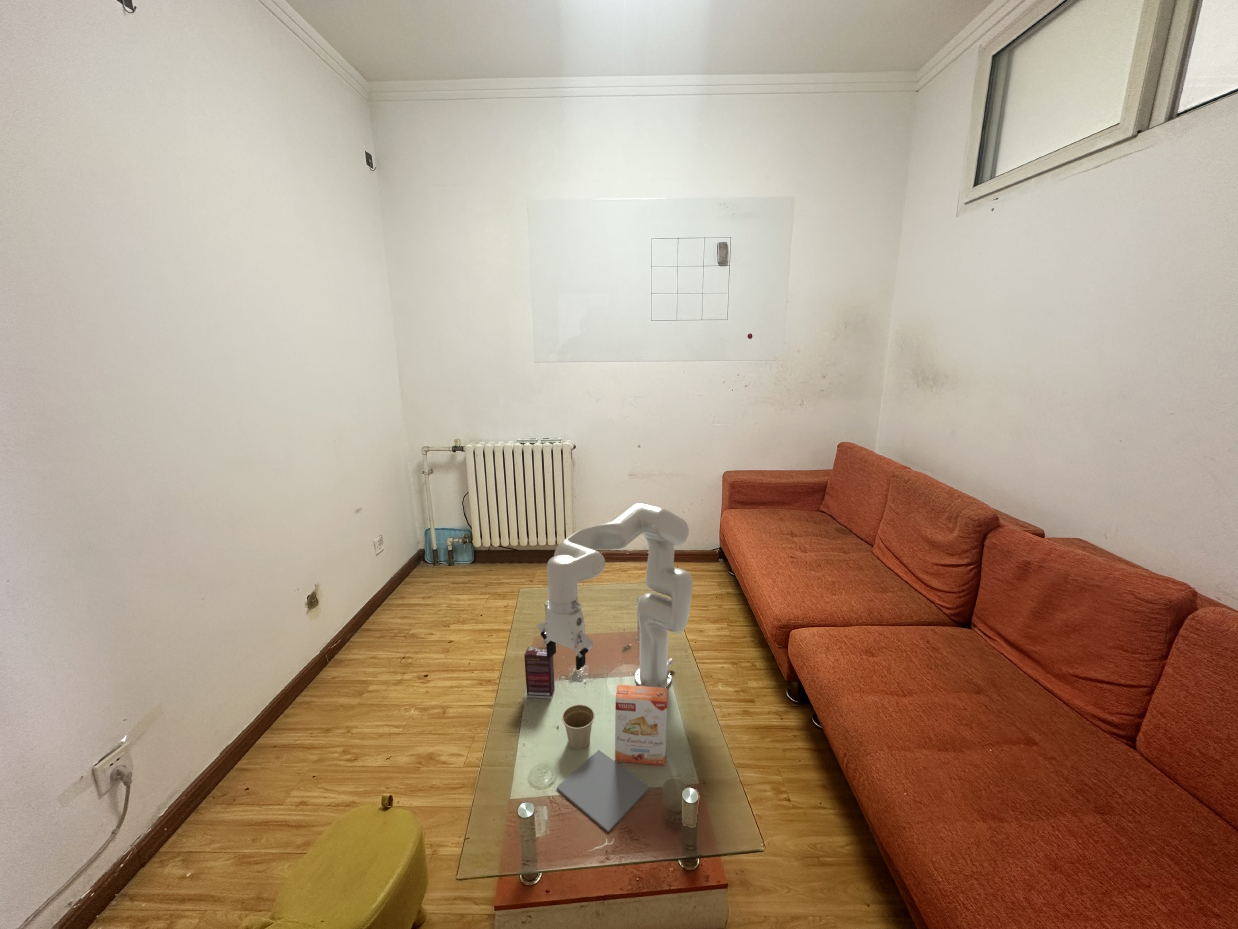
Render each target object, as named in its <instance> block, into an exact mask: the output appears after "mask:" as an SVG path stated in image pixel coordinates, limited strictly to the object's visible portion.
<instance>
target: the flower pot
mask: <svg viewBox="0 0 1238 929" xmlns="http://www.w3.org/2000/svg"><path fill="white" fill-rule="evenodd" d="M561 714H562V715H561V721H562V723H563V725H564V727H565V731H566V736H567V741H568V744H569V746H570V747H571V748H572V749H576V750H580V749H584V748H585V747H587V746H589V744H590V741H591V732H592V726H593V722H594V720H595V717H596V715H595V711H594V709H593V708H591V707H590V706H588V705H586V704H574V705H571V706H569V707H567V708H566V709H565V710H564V711H563V713H561Z"/></svg>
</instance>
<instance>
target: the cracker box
mask: <svg viewBox="0 0 1238 929" xmlns="http://www.w3.org/2000/svg"><path fill="white" fill-rule="evenodd" d="M614 716H615V717H614V719H615V722H614V723H615V724H614V726H615V727H614V728H615V730H614V731H615V734H614V737H615V738H614V739H615V740H614V742H615V743H614V750H615V751H614V761H615V762H619V763H620V762H621V763H630V764H632V763H634V764H642V765H643V764H645V765H646V764H647V765H655V766H656V765H657V766H666V752H667V749H666V747H667V721H668V687H667V688H659V687H645V686H639V685H629V684H617V685H616V691H615V715H614Z"/></svg>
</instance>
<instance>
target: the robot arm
mask: <svg viewBox="0 0 1238 929" xmlns="http://www.w3.org/2000/svg"><path fill="white" fill-rule="evenodd" d="M689 530H690V529H689V525H688V523H687V522H686V520H685V519H683V518H682V517H680V516H678V515H677V514H675V513H673V512H671V511H670V510H668V509H666V508H664V507H660V506H655V505H651V504H647V503H641V502H637V503H633V504H631V505H630V506H628V507H627V508H626V509H624V510H623V511H621V512H620V513H619V514H618V515H616V516H615V517H613V518H612V519H611V520H609V521H607V522H606V523H600V524H596V525H593V526H590V527H586V528H585V527H584V528H582V529H579V530H577V531H575V532H574V533H572V534H570V535H569V536H567V537H566V538H565V539H563V540H562V541H561V542H560V543H559V544H558V546H557V547H556V548H555V551H554V553H553V556H552V557H551V558H549V560H548V561H547V564H546V570H547V571H546V572H547V593H548V594H547V595H548V605H547V609H546V614H545V621H542V622H540V623H539V624H538V625H537V628H538V630H539V632H540V636H541V638H542V639H543V643H544V645H546V646H545V648H546V650H547V658H550V657H551V656H553V657H554V655H555V654H556V653H557V644H559V645H561V646H563V647H566V648H569V649H573V650H574V652H575V654H576V656H575V669H576V670H577V671H580V670H581V669H582V668H583V667H584V666H585V665H586V654H588V653H589V651H590V650H591V649H592V647H593V645H594V641H592V639H591V638H590V637H588V636H587V635H586V625H585V619H584V615H583V614H584V613H583V610H582V604H581V603H579V586H578V584H579V582H584V581H588V580H591V579H594V578H596V577H598V576H599V575H600V574H601V573H602V572H603V571H604V569H605V565H606V559H605V557H604V555H603V554H602V553H601V552H600V551H601V550H604V551H605V550H606V551H607V550H608V551H609V550H610V551H611V550H613V551H614V550H621V549H624V548H626V547H627V546H628V545H629V544H631V543H632V542H633V541H634V540H635V539H636V538H638V537H639V536H640V535H642V536H643V537H644V538H645V540H646V543H647V545H648V554H647V555H648V556H647V562H646V564H647V565H646V570H645V585H646V587H647V588H648V589H649V590H652V591H653V592H656V593H653V592H647V593H644V594H642V595H641V596H640V597H639V599H638V600H637V604H636V613H637V618H638V623H639V668H638V669H637V670H636V671H635V674H634V680H635V683H636V684H637V686H645V687H659V688H665V687H667V686H668V685H669V684H670V685H671V683H670V682H672V675H670V674H671V672H670V671H669V668H670V666H672V664H674V659H673V658H672V657H670V658H668V650H669V641H668V640H669V633H668V631H669V632H671V633H673V634H674V633H676V634H680V633H682V632H683V631H684V630H685V629H686V627H687V625H688V621H689V619H690V618H689V616H690V610H691V604H692V603H691V602H692V596H693V587H694V581H693V577H692V575H691V574H690V572H688V571H687V570H684V569H682V568H679V567H676V566H675V565H674V562H675V546H676V547H677V546H681V545H683V544H685V543H686V541H687V539H688V536H689ZM598 550H600V551H598ZM660 594H661V595H660ZM663 595H664V596H663ZM666 596H667V597H666ZM668 597H669V598H668ZM580 649H581V650H580ZM668 678H670V679H668ZM670 685H669V686H670ZM669 686H668V687H669ZM668 687H667V688H668Z"/></svg>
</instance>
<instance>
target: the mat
mask: <svg viewBox="0 0 1238 929" xmlns="http://www.w3.org/2000/svg"><path fill="white" fill-rule="evenodd" d="M649 789H650V785H649V784H647V783H646V782H644V780H642V779H640V778H639V777H638V776H636V775H635V774H633V773H632V772H631V771H629V770H628V769H627V768H625V767H624V766H622V765H621V764H619V763H618V761H615V759H613V758H611V757H609V756H608V755H607V754H605V753H604V752H603V751H601V750H600V749H598V750H596V752H594V753H593V754H592V755H591V756H590V757H588V759H586V760H585V761H584V762H583V763H582V764H581V765H580V766H579V767H578V768H577V769H576V770H574V771H573V772H572V773H571V774H570V775H569V776H567V778H565V779H564V780H563V781H562V782H561V783H560V784H558V785H557V787H556V790H557V791H558V792H559V793H561V794H562V795H563V796H564V797H565V798H567V799H568V800H569V801H570V802H571V803H573V804H574V805H575V806H576V807H577V808H579V810H581V811H582V812H583V813H585V814H586V815H587V816H588V817H589V818H590V819H591V820H592V821H594V822H595V823H596V824H598V826H600V827H601V828H602V829H604V831H606V832H607V833H610V832H611V830H612V829H614V827H615V826H616V825H617V824H618V823H619V822H620V821H621V819H622V818H624V817H625V815H626V814H627V813H628V812H629V811H630V810H631V809H632V807H633V806H635V805H636V804H637V802H638V801H639V800H640V799H641V798H642V796H643V795H644V794H646V792H647V791H649Z"/></svg>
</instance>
